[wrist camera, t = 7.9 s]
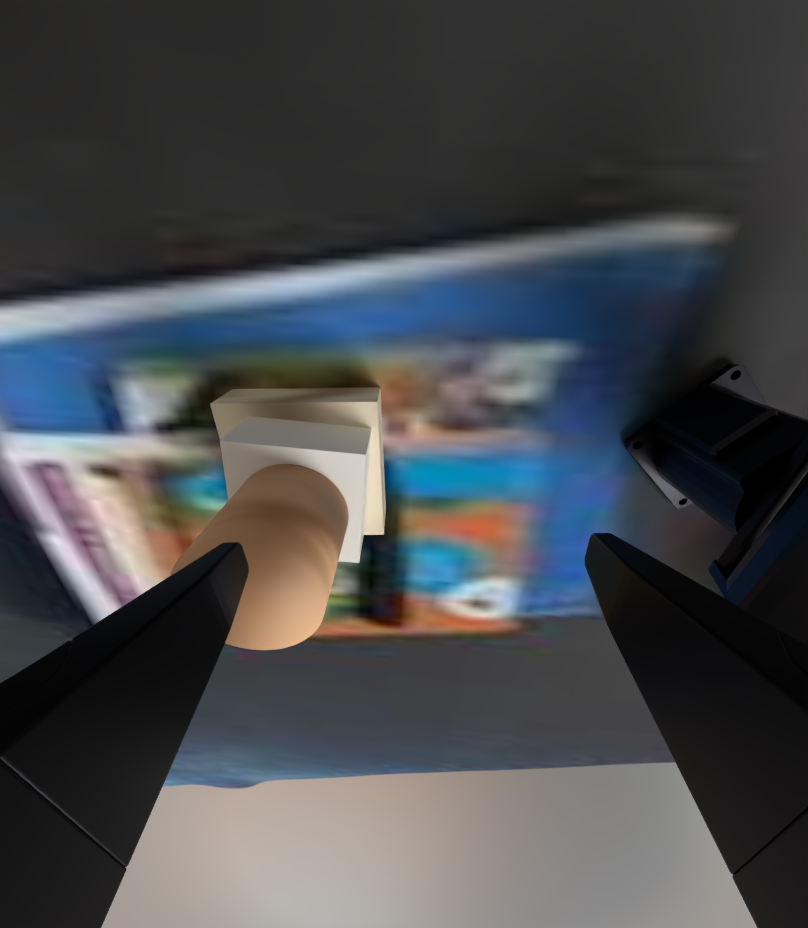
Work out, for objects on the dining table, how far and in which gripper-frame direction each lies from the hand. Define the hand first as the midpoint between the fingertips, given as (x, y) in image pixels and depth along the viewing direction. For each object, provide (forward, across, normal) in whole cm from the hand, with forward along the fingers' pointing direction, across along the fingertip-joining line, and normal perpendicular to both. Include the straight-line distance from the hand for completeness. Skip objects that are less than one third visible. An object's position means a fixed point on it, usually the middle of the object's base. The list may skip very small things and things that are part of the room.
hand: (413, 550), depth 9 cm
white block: (+9, +5, +3) cm, 11 cm away
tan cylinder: (+6, +6, +3) cm, 9 cm away
